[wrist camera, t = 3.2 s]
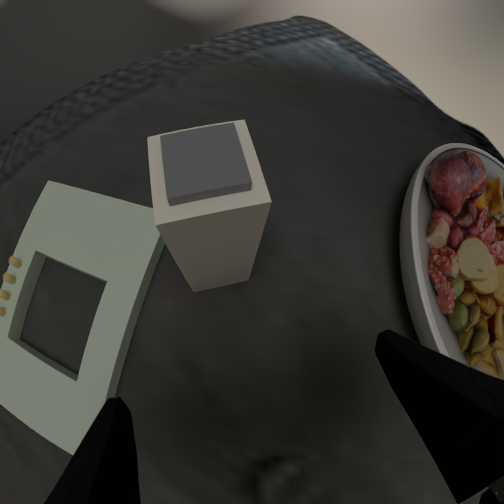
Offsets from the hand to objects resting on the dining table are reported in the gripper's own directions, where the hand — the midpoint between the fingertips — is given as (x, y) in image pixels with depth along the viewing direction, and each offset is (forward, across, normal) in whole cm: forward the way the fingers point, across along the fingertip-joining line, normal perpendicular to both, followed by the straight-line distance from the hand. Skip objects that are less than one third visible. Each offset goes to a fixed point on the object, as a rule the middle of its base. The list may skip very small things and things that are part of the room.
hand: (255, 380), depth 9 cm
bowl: (+10, -29, +10) cm, 32 cm away
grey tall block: (+15, 0, +4) cm, 16 cm away
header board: (+14, +14, +5) cm, 21 cm away
